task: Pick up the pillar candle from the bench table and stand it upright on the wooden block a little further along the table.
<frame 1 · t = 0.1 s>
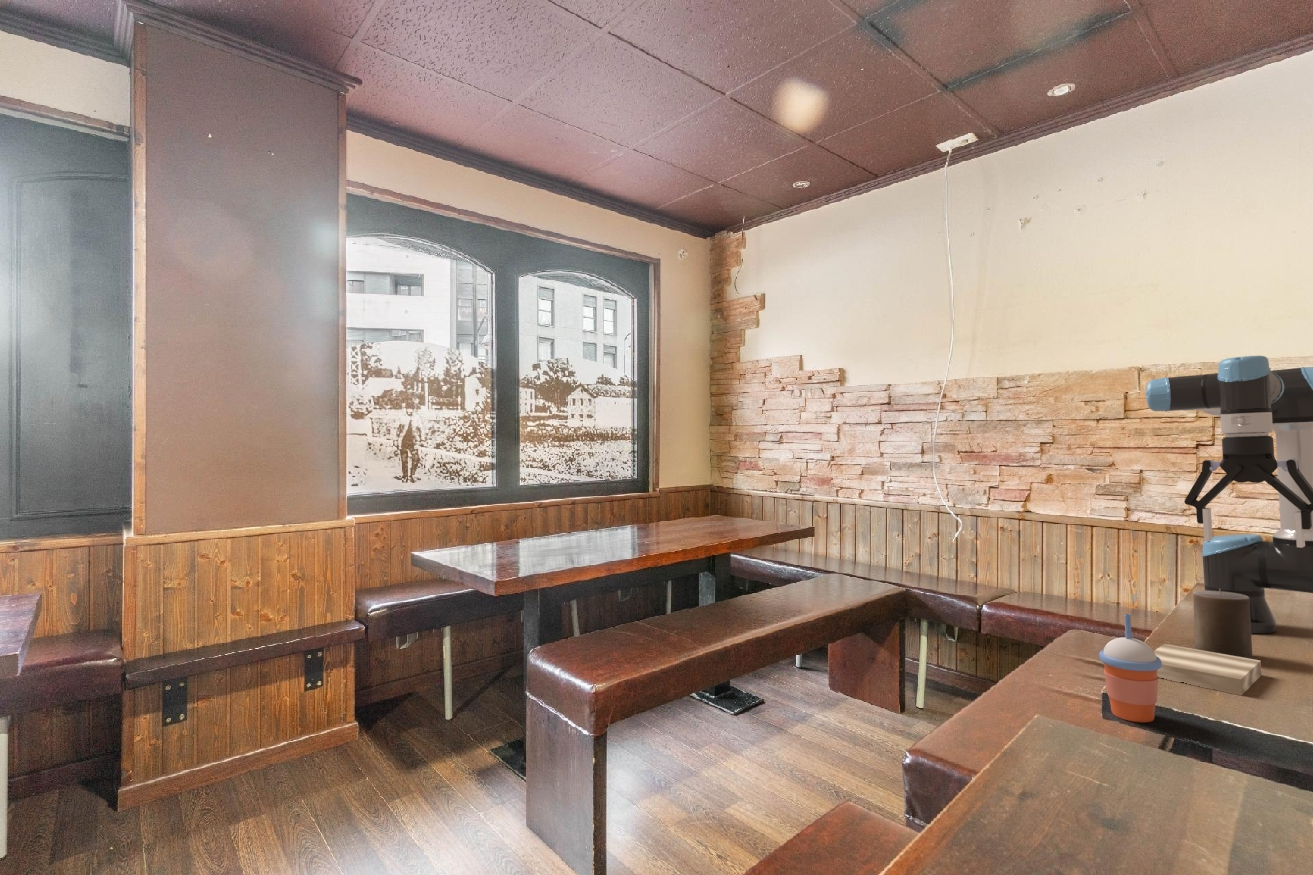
hand: (1252, 543, 128), 28 cm above the table, fingers open, 13 cm apart
cup with straw: (1132, 716, 116), on the table
pillar candle: (1223, 656, 145), on the table
wooden block: (1200, 674, 135), on the table
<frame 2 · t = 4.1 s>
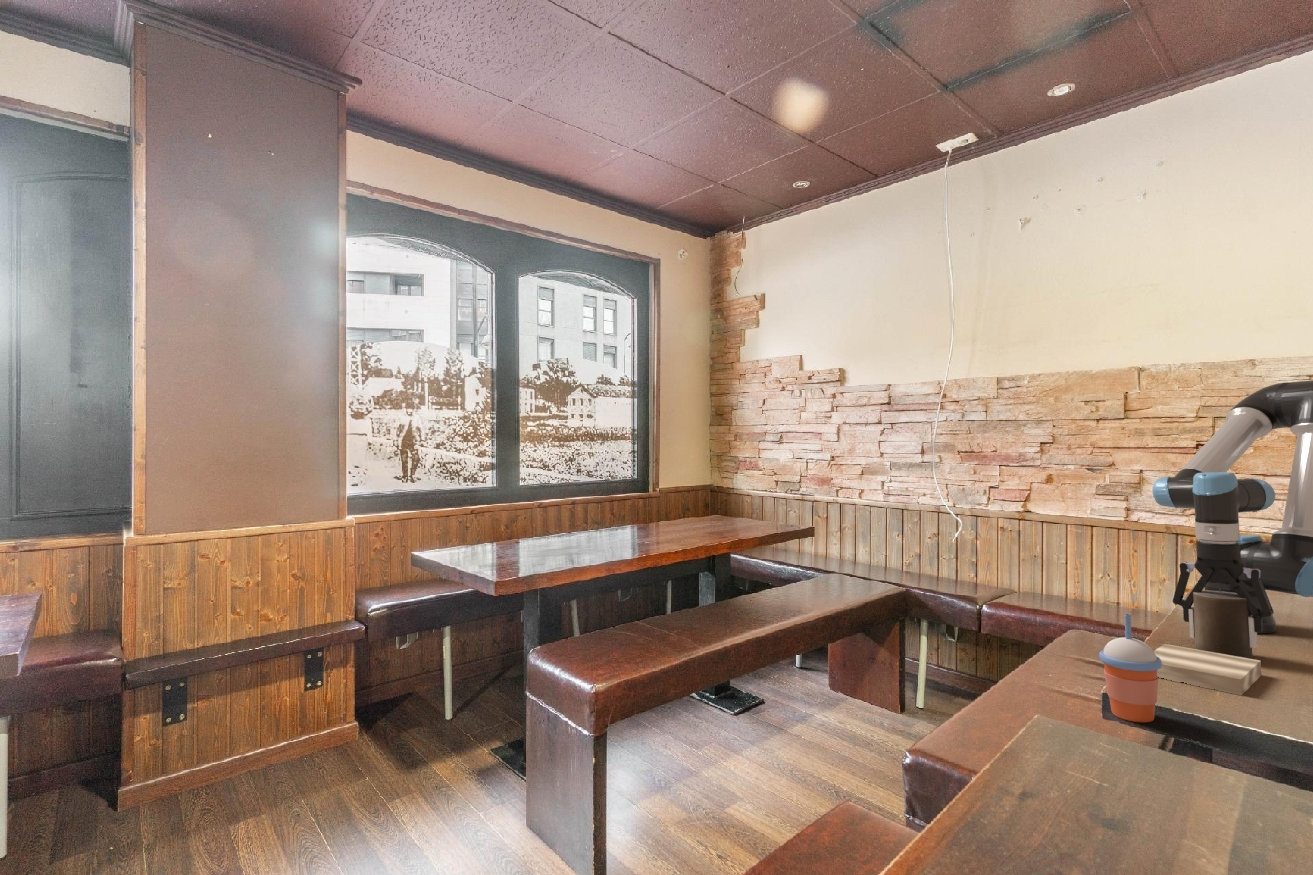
hand: (1222, 641, 145), 3 cm above the table, fingers closed on pillar candle, 10 cm apart
pillar candle: (1223, 656, 145), on the table, touching gripper
everything else where it was.
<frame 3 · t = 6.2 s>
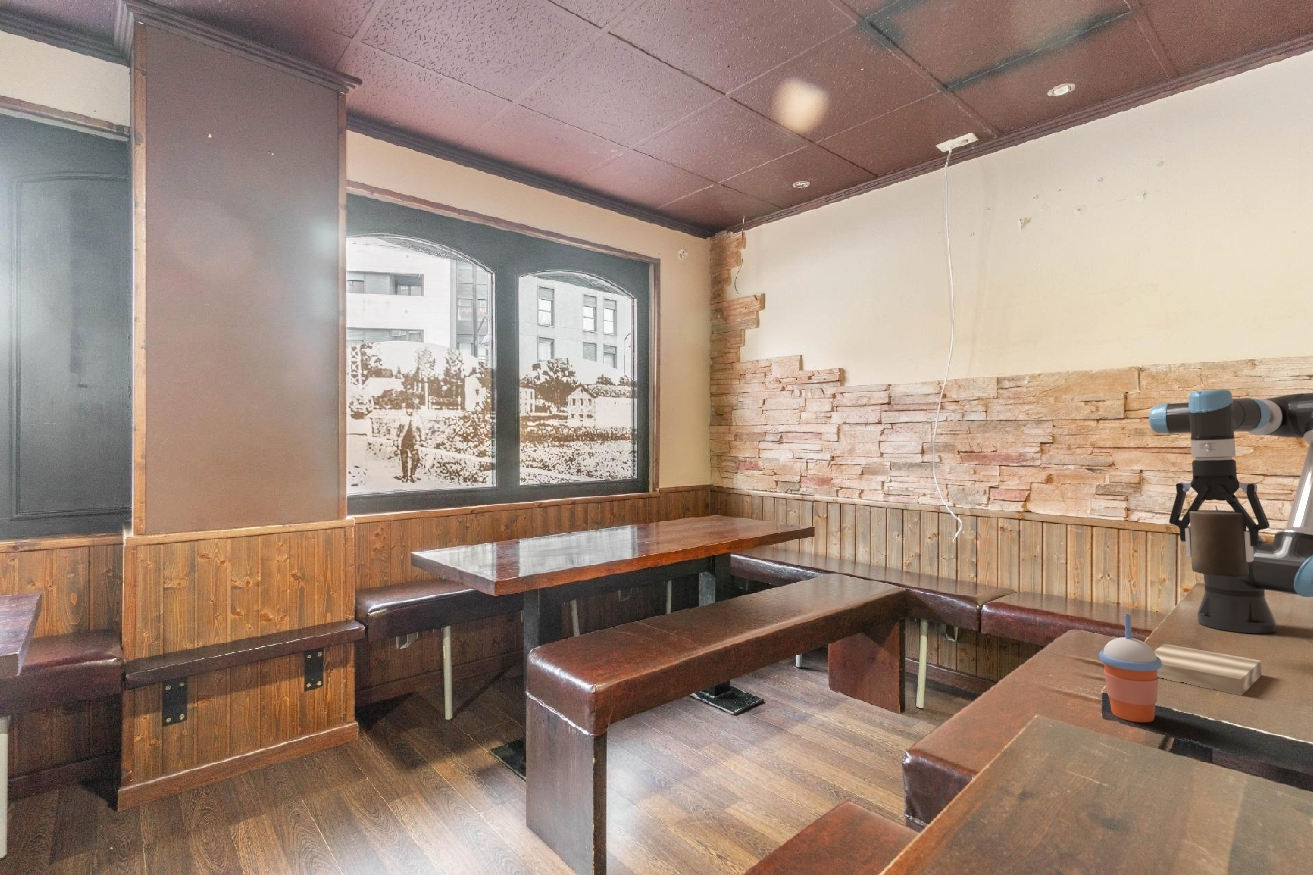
hand: (1219, 558, 146), 22 cm above the table, fingers closed on pillar candle, 10 cm apart
pillar candle: (1220, 573, 146), point 18 cm above the table, touching gripper
everything else where it was.
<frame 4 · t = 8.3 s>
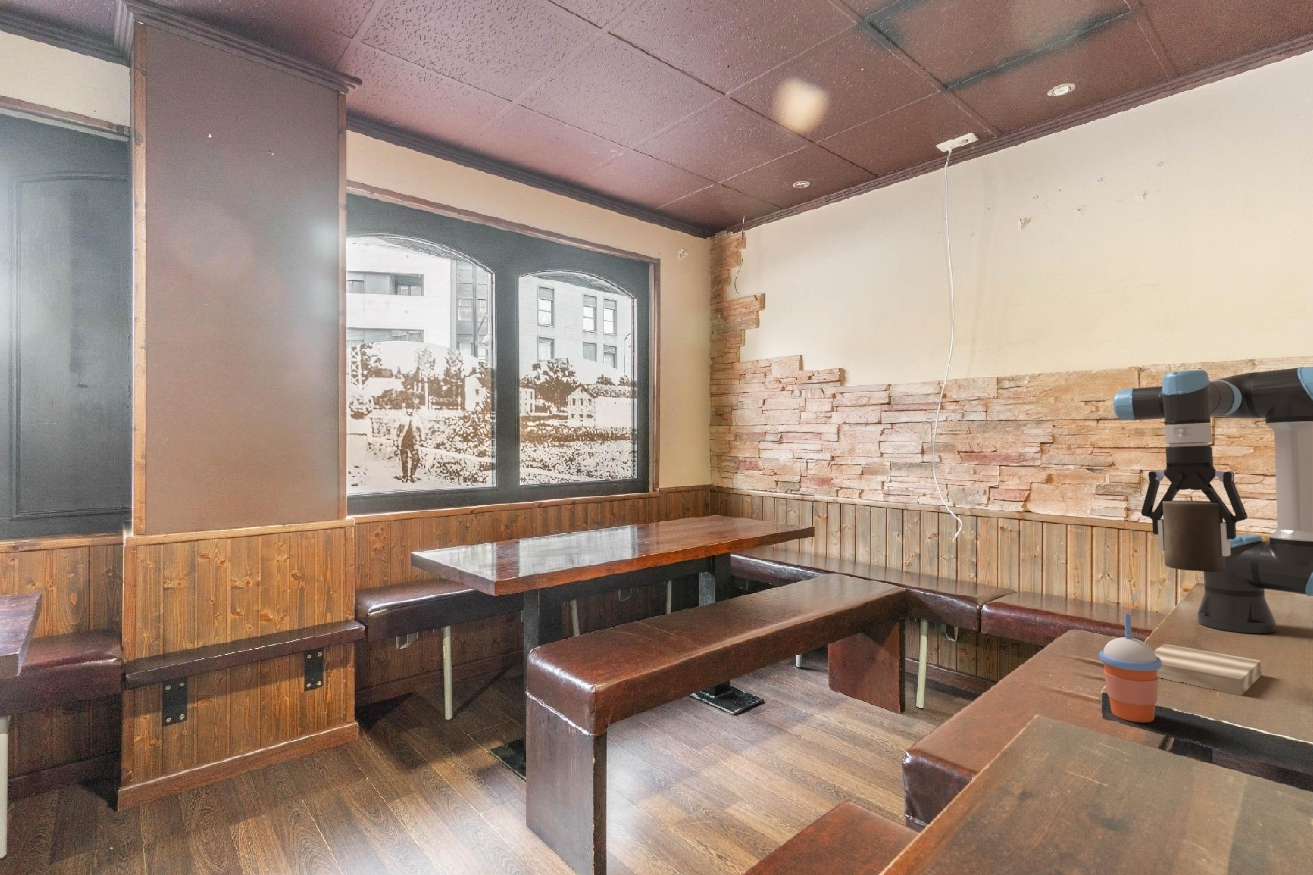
hand: (1193, 552, 135), 25 cm above the table, fingers closed on pillar candle, 10 cm apart
pillar candle: (1194, 568, 135), point 22 cm above the table, touching gripper
everything else where it was.
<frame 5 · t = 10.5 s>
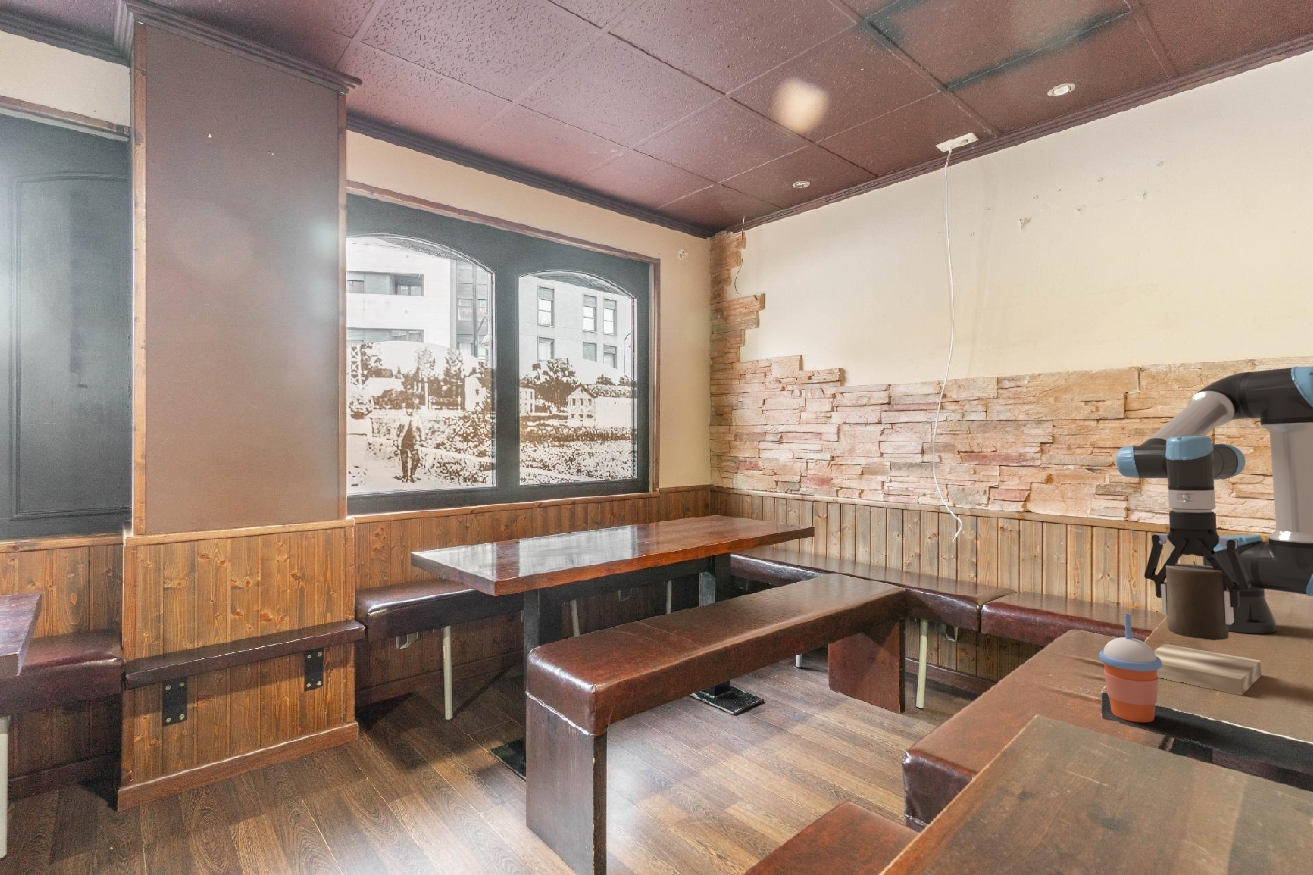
hand: (1197, 618, 135), 12 cm above the table, fingers closed on pillar candle, 10 cm apart
pillar candle: (1198, 634, 135), point 8 cm above the table, touching gripper
everything else where it was.
when the fingers open (8 cm above the table, at t = 12.4 s): pillar candle drops 1 cm, resting on wooden block.
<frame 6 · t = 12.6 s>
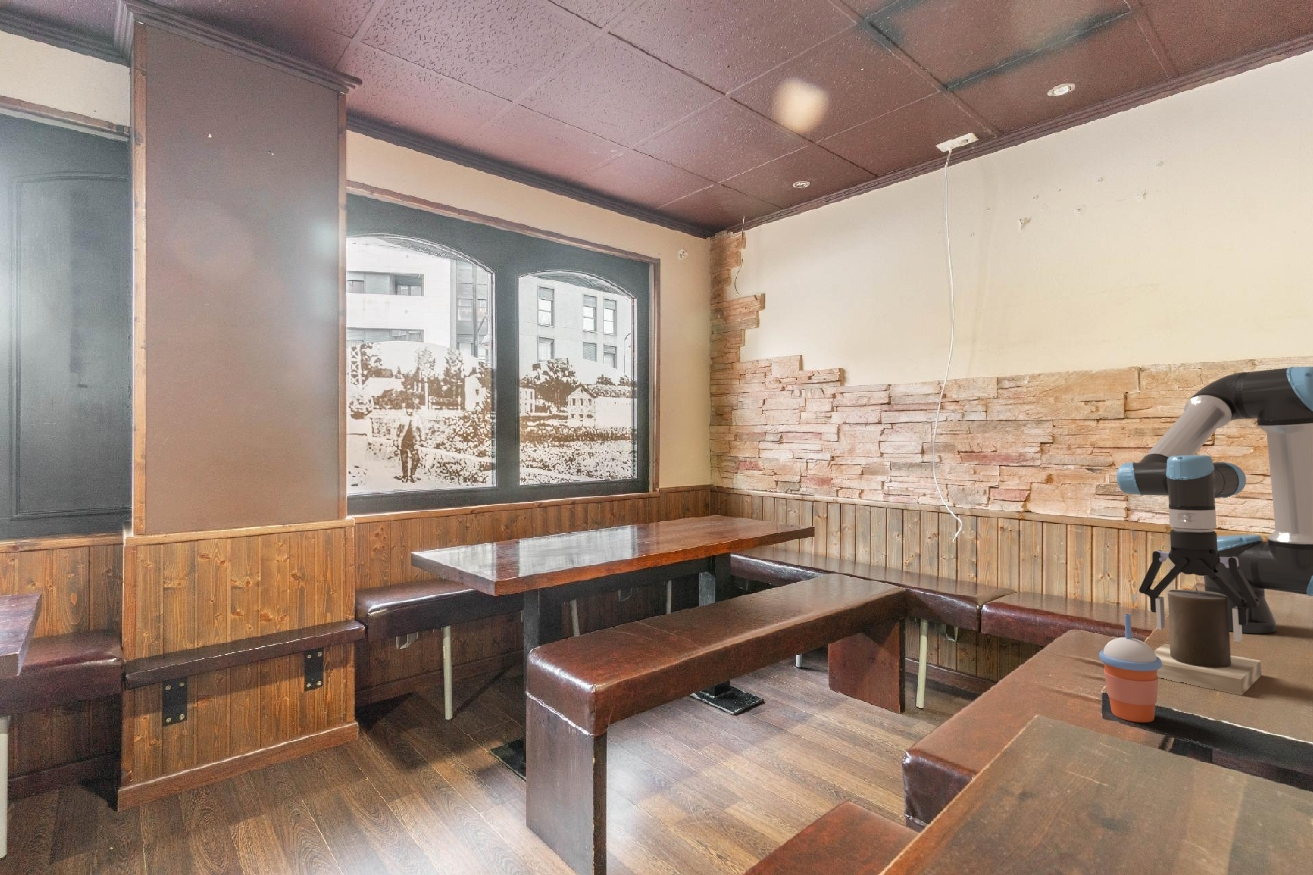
hand: (1198, 634, 135), 8 cm above the table, fingers open, 12 cm apart
pillar candle: (1200, 661, 135), point 3 cm above the table, touching wooden block
everything else where it was.
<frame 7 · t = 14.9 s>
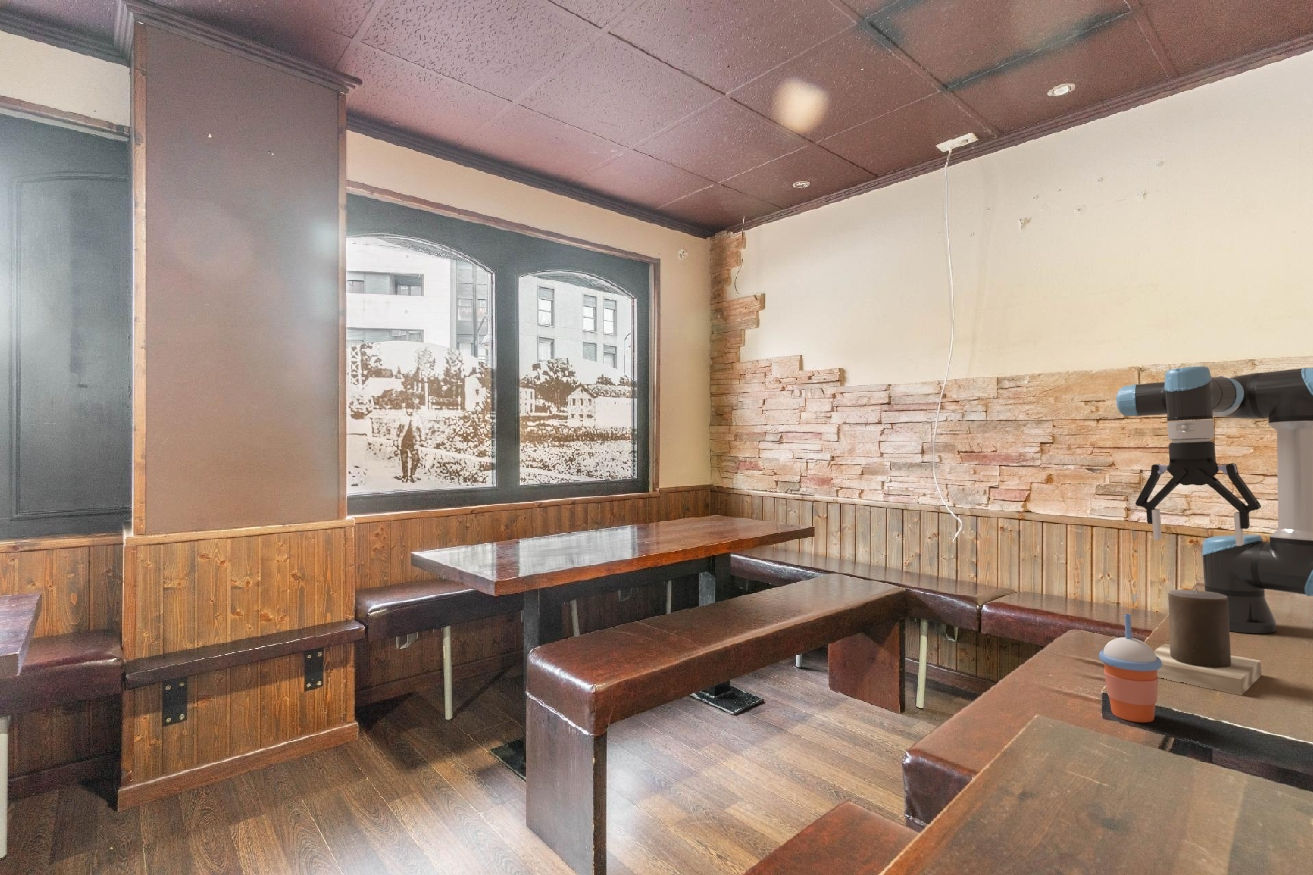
hand: (1197, 542, 136), 27 cm above the table, fingers open, 13 cm apart
nothing on the table moved.
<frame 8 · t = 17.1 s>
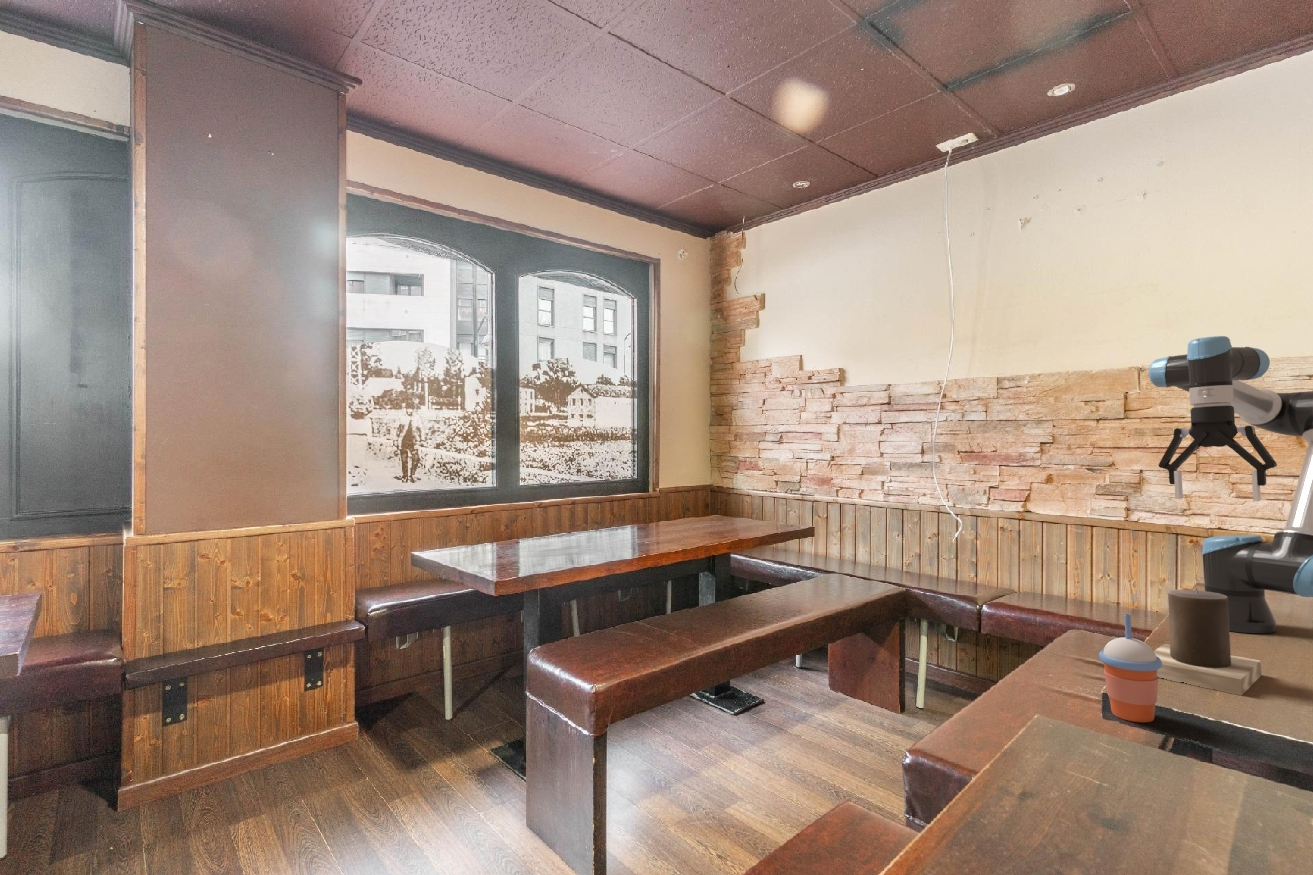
hand: (1216, 499, 147), 35 cm above the table, fingers open, 13 cm apart
nothing on the table moved.
at the end: pillar candle inside the target area on the wooden block (0.1 cm from its centre), point 2.8 cm above the wooden block's base; pillar candle tilted 0°; the gripper is holding nothing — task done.
